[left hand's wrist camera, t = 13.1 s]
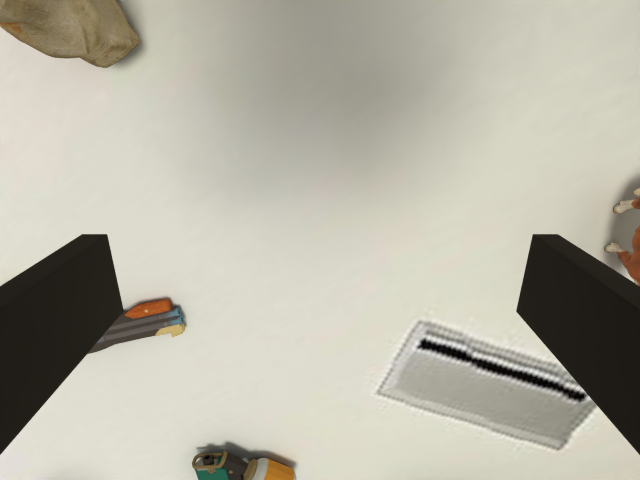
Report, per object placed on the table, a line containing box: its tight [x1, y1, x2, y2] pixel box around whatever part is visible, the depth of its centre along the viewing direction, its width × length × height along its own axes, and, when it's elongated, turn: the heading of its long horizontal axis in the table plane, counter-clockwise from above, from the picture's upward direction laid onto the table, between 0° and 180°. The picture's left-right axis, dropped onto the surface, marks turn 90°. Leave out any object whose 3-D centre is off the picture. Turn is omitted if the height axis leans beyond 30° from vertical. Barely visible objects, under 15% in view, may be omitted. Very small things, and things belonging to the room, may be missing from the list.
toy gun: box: [87, 299, 185, 354], centre depth 44 cm, size 3×19×10 cm
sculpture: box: [0, 0, 140, 68], centre depth 27 cm, size 6×7×15 cm
